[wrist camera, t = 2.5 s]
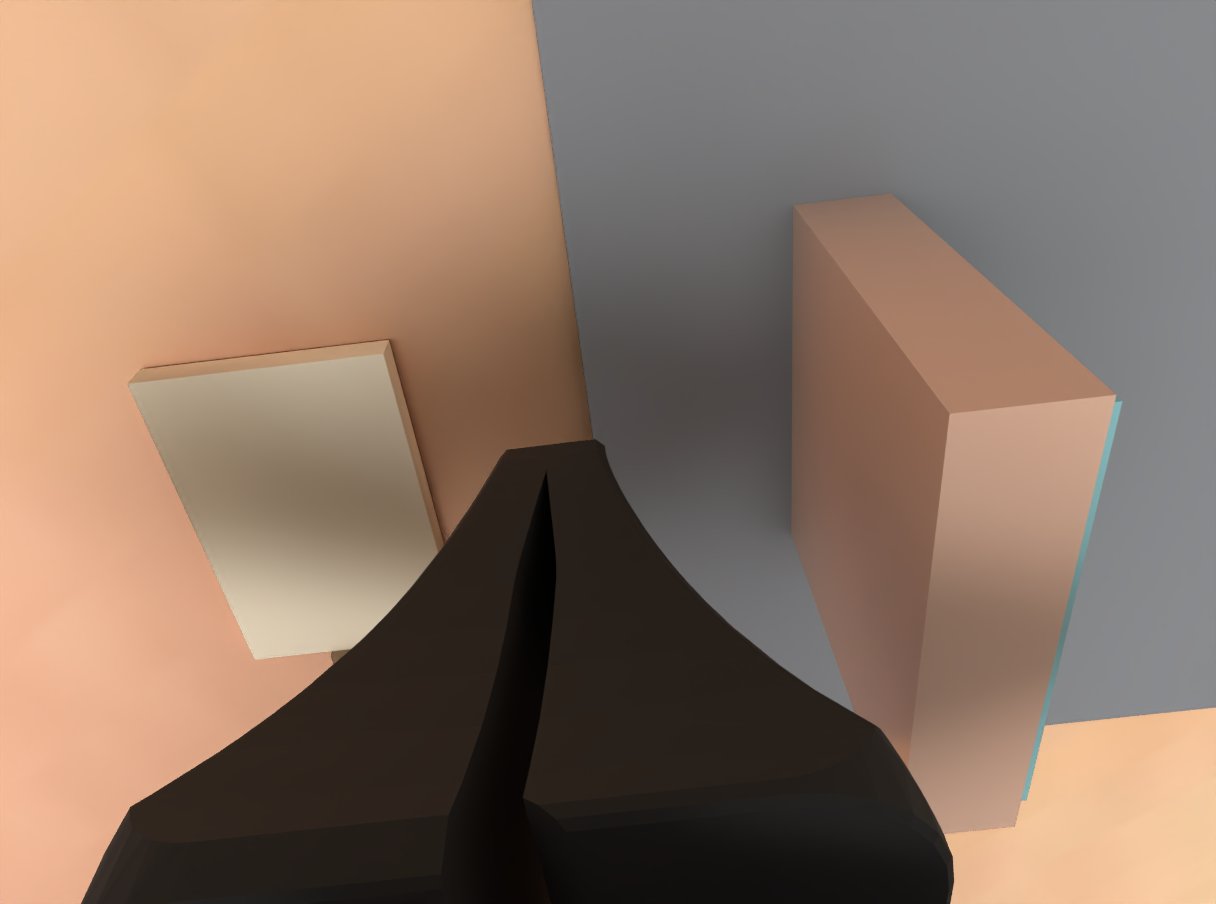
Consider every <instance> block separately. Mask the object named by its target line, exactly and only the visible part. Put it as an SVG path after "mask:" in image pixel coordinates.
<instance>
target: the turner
mask: <svg viewBox="0 0 1216 904" xmlns="http://www.w3.org/2000/svg"><path fill="white" fill-rule="evenodd" d="M128 386H129V389H130V391H131V393H132V395H133V397H134V399H135V402H136V404H137V406H138V408H139V410H140V412H141V415H142V417H143V419H144V421H145V423H146V425H147V428H148V430H149V432H150V434H151V436H152V438H153V441H154V443H155V445H156V447H157V449H158V451H159V454H160V456H161V458H162V460H163V462H164V464H165V467H166V469H167V471H168V473H169V475H170V477H171V480H172V482H173V484H174V486H175V488H176V490H177V493H178V495H179V497H180V499H181V501H182V503H183V506H184V508H185V510H186V512H187V514H188V516H189V519H190V521H191V523H192V525H193V527H194V529H195V532H196V534H197V536H198V538H199V540H200V542H201V545H202V547H203V549H204V551H205V553H206V555H207V558H208V560H209V562H210V564H211V566H212V568H213V571H214V573H215V575H216V577H217V579H218V581H219V584H220V586H221V588H222V590H223V592H224V594H225V597H226V599H227V601H228V603H229V605H230V607H231V610H232V612H233V614H234V616H235V618H236V620H237V623H238V625H239V627H240V629H241V631H242V633H243V636H244V638H245V640H246V642H247V644H248V646H249V649H250V651H251V653H252V655H253V657H254V660H257V659H266V658H275V657H284V656H293V655H303V654H312V653H321V652H330V651H332V653H331V658H332V661H333V663H334V664H335V663H336V662H337V661H338V660H339V659H340V658H341V657H343V656H344V655H345V654H346V653H347V652H348V651H349V650H350V649H352V648H353V647H354V646H355V645H356V644H357V643H358V642H360V641H361V640H362V639H363V638H364V637H365V636H366V635H367V634H368V633H369V632H370V631H371V630H372V629H373V628H374V627H375V626H376V625H377V624H378V623H379V622H380V621H381V620H382V619H383V618H384V617H385V616H386V615H387V614H388V613H389V611H390V610H391V609H392V608H393V607H394V606H395V605H396V604H397V603H398V601H399V600H400V599H401V598H402V597H403V596H404V595H405V593H406V592H407V591H408V590H409V589H410V588H411V586H412V585H413V584H414V583H415V581H416V580H417V579H418V578H419V576H420V575H421V574H422V573H423V571H424V570H425V569H426V567H427V566H428V565H429V564H430V562H431V561H432V560H433V559H434V557H435V556H436V555H437V553H438V552H439V551H440V550H441V548H442V547H443V546H444V542H443V539H442V535H441V531H440V528H439V524H438V520H437V516H436V513H435V509H434V505H433V502H432V498H431V494H430V491H429V487H428V483H427V479H426V476H425V472H424V468H423V465H422V461H421V457H420V453H419V450H418V446H417V442H416V439H415V435H414V431H413V427H412V424H411V420H410V416H409V413H408V409H407V405H406V401H405V398H404V394H403V390H402V387H401V383H400V379H399V375H398V372H397V368H396V364H395V361H394V357H393V353H392V349H391V346H390V342H389V340H383V341H375V342H366V343H358V344H350V345H341V346H333V347H324V348H316V349H307V350H299V351H290V352H282V353H273V354H265V355H257V356H248V357H240V358H231V359H223V360H214V361H206V362H197V363H189V364H180V365H172V366H164V367H155V368H147V369H140V371H139V372H138V373H137V374H136V375H135V376H134V377H133V378H132V379H131V380H130V382H129V383H128Z"/></svg>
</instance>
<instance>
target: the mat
mask: <svg viewBox="0 0 1216 904" xmlns="http://www.w3.org/2000/svg"><path fill="white" fill-rule="evenodd" d="M532 5H533V12H534V19H535V27H536V34H537V41H538V48H539V55H540V62H541V69H542V77H543V84H544V91H545V98H546V105H547V112H548V120H549V127H550V134H551V141H552V148H553V155H554V163H555V170H556V177H557V184H558V191H559V198H560V205H561V213H562V220H563V227H564V234H565V241H566V248H567V256H568V263H569V270H570V277H571V284H572V291H573V299H574V306H575V313H576V320H577V327H578V334H579V341H580V349H581V356H582V363H583V370H584V377H585V384H586V392H587V399H588V406H589V413H590V420H591V427H592V435H593V440H594V439H596V440H598V441H599V442H600V443H602V444H603V445H604V446H605V450H606V456H607V459H608V462H609V465H610V467H611V470H612V472H613V474H614V476H615V478H616V480H617V482H618V484H619V486H620V488H621V490H622V492H623V494H624V496H625V497H626V499H627V501H628V503H629V504H630V506H631V507H632V509H633V510H634V512H635V514H636V515H637V517H638V518H639V520H640V521H641V523H642V525H643V526H644V528H645V529H646V530H647V532H648V533H649V535H650V536H651V537H652V539H653V540H654V542H655V543H656V544H657V545H658V547H659V548H660V549H661V551H662V552H663V553H664V554H665V556H666V557H667V558H668V560H669V561H670V562H671V563H672V564H673V566H674V567H675V568H676V569H677V570H678V572H679V573H680V574H681V575H682V576H683V577H684V578H685V580H686V581H687V582H688V583H689V584H690V585H691V586H692V587H693V588H694V589H695V590H696V591H697V592H698V594H699V595H700V596H701V597H702V598H703V599H704V600H705V601H706V602H707V603H708V604H709V605H710V606H711V607H712V608H713V609H714V610H716V611H717V612H718V613H719V614H720V615H721V616H722V617H723V618H724V619H725V620H726V621H727V622H728V623H729V624H730V625H731V626H732V627H734V628H735V629H736V630H737V631H739V632H740V633H741V634H742V635H744V636H745V637H746V638H747V639H748V640H750V641H751V642H752V643H753V644H755V645H756V646H757V647H758V648H759V649H761V650H762V651H763V652H764V653H766V654H767V655H768V656H769V657H770V658H772V659H773V660H774V661H775V662H777V663H778V664H779V665H780V666H782V667H783V668H785V669H786V670H787V671H789V672H790V673H792V674H793V675H795V676H796V677H797V678H799V679H800V680H802V681H803V682H805V683H806V684H807V685H809V686H810V687H812V688H813V689H814V690H816V691H818V692H819V693H821V694H823V695H825V696H826V697H828V698H830V699H831V700H833V701H835V702H837V703H838V704H840V705H842V706H843V707H845V708H847V709H849V710H850V711H852V712H854V710H853V707H852V704H851V701H850V698H849V696H848V693H847V690H846V687H845V684H844V682H843V679H842V676H841V673H840V670H839V667H838V665H837V662H836V659H835V656H834V653H833V651H832V648H831V645H830V642H829V639H828V637H827V634H826V631H825V628H824V625H823V623H822V620H821V617H820V614H819V611H818V608H817V606H816V603H815V600H814V597H813V594H812V592H811V589H810V586H809V583H808V580H807V578H806V575H805V572H804V569H803V566H802V564H801V561H800V558H799V555H798V552H797V549H796V547H795V544H794V541H793V538H792V535H791V507H792V326H793V205H799V204H808V203H816V202H824V201H832V200H841V199H849V198H857V197H866V196H874V195H882V194H890V193H891V194H892V195H893V196H895V197H896V198H897V199H898V200H899V201H900V202H901V203H902V204H904V205H905V206H906V207H907V208H908V209H909V210H910V211H911V212H912V213H914V214H915V215H916V216H917V217H918V218H919V219H920V220H921V221H923V222H924V223H925V224H926V225H927V226H928V227H929V228H930V229H932V230H933V231H934V232H935V233H936V234H937V235H938V236H939V237H940V238H942V239H943V240H944V241H945V242H946V243H947V244H948V245H949V246H951V247H952V248H953V249H954V250H955V251H956V252H957V253H958V254H959V255H961V256H962V257H963V258H964V259H965V260H966V261H967V262H968V263H970V264H971V265H972V266H973V267H974V268H975V269H976V270H977V271H978V272H980V273H981V274H982V275H983V276H984V277H985V278H986V279H987V280H989V281H990V282H991V283H992V284H993V285H994V286H995V287H996V288H997V289H999V290H1000V291H1001V292H1002V293H1003V294H1004V295H1005V296H1006V297H1008V298H1009V299H1010V300H1011V301H1012V302H1013V303H1014V304H1015V305H1016V306H1018V307H1019V308H1020V309H1021V310H1022V311H1023V312H1024V313H1025V314H1027V315H1028V316H1029V317H1030V318H1031V319H1032V320H1033V321H1034V322H1036V323H1037V324H1038V325H1039V326H1040V327H1041V328H1042V329H1043V330H1044V331H1046V332H1047V333H1048V334H1049V335H1050V336H1051V337H1052V338H1053V339H1055V340H1056V341H1057V342H1058V343H1059V344H1060V345H1061V346H1062V347H1063V348H1065V349H1066V350H1067V351H1068V352H1069V353H1070V354H1071V355H1072V356H1074V357H1075V358H1076V359H1077V360H1078V361H1079V362H1080V363H1081V364H1082V365H1084V366H1085V367H1086V368H1087V369H1088V370H1089V371H1090V372H1091V373H1093V374H1094V375H1095V376H1096V377H1097V378H1098V379H1099V380H1100V381H1101V382H1103V383H1104V384H1105V385H1106V386H1107V387H1108V388H1109V389H1110V390H1112V391H1113V392H1114V393H1115V394H1116V396H1117V397H1118V398H1119V399H1121V400H1122V405H1121V409H1120V414H1119V418H1118V422H1117V426H1116V430H1115V434H1114V439H1113V443H1112V447H1111V451H1110V455H1109V459H1108V464H1107V468H1106V472H1105V476H1104V480H1103V484H1102V488H1101V493H1100V497H1099V501H1098V505H1097V509H1096V513H1095V518H1094V522H1093V526H1092V530H1091V534H1090V538H1089V543H1088V547H1087V551H1086V555H1085V559H1084V563H1083V567H1082V572H1081V576H1080V580H1079V584H1078V588H1077V592H1076V597H1075V601H1074V605H1073V609H1072V613H1071V617H1070V622H1069V626H1068V630H1067V634H1066V638H1065V642H1064V646H1063V651H1062V655H1061V659H1060V663H1059V667H1058V671H1057V676H1056V680H1055V684H1054V688H1053V692H1052V696H1051V701H1050V705H1049V709H1048V713H1047V717H1046V721H1045V725H1053V724H1063V723H1072V722H1082V721H1091V720H1101V719H1110V718H1120V717H1129V716H1139V715H1148V714H1158V713H1167V712H1177V711H1186V710H1196V709H1205V708H1215V707H1216V0H532ZM854 713H855V712H854Z"/></svg>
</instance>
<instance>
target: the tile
mask: <svg viewBox="0 0 1216 904" xmlns="http://www.w3.org/2000/svg"><path fill="white" fill-rule="evenodd" d="M1121 405H1122V400H1121V399H1119V398H1118V397H1117V396H1116V394H1115V393H1114V392H1113V391H1112V390H1110V389H1109V388H1108V387H1107V386H1106V385H1105V384H1104V383H1103V382H1101V381H1100V380H1099V379H1098V378H1097V377H1096V376H1095V375H1094V374H1093V373H1091V372H1090V371H1089V370H1088V369H1087V368H1086V367H1085V366H1084V365H1082V364H1081V363H1080V362H1079V361H1078V360H1077V359H1076V358H1075V357H1074V356H1072V355H1071V354H1070V353H1069V352H1068V351H1067V350H1066V349H1065V348H1063V347H1062V346H1061V345H1060V344H1059V343H1058V342H1057V341H1056V340H1055V339H1053V338H1052V337H1051V336H1050V335H1049V334H1048V333H1047V332H1046V331H1044V330H1043V329H1042V328H1041V327H1040V326H1039V325H1038V324H1037V323H1036V322H1034V321H1033V320H1032V319H1031V318H1030V317H1029V316H1028V315H1027V314H1025V313H1024V312H1023V311H1022V310H1021V309H1020V308H1019V307H1018V306H1016V305H1015V304H1014V303H1013V302H1012V301H1011V300H1010V299H1009V298H1008V297H1006V296H1005V295H1004V294H1003V293H1002V292H1001V291H1000V290H999V289H997V288H996V287H995V286H994V285H993V284H992V283H991V282H990V281H989V280H987V279H986V278H985V277H984V276H983V275H982V274H981V273H980V272H978V271H977V270H976V269H975V268H974V267H973V266H972V265H971V264H970V263H968V262H967V261H966V260H965V259H964V258H963V257H962V256H961V255H959V254H958V253H957V252H956V251H955V250H954V249H953V248H952V247H951V246H949V245H948V244H947V243H946V242H945V241H944V240H943V239H942V238H940V237H939V236H938V235H937V234H936V233H935V232H934V231H933V230H932V229H930V228H929V227H928V226H927V225H926V224H925V223H924V222H923V221H921V220H920V219H919V218H918V217H917V216H916V215H915V214H914V213H912V212H911V211H910V210H909V209H908V208H907V207H906V206H905V205H904V204H902V203H901V202H900V201H899V200H898V199H897V198H896V197H895V196H893V195H892V194H891V193H890V194H882V195H874V196H866V197H857V198H849V199H841V200H832V201H824V202H816V203H808V204H799V205H793V326H792V507H791V535H792V538H793V541H794V544H795V547H796V549H797V552H798V555H799V558H800V561H801V564H802V566H803V569H804V572H805V575H806V578H807V580H808V583H809V586H810V589H811V592H812V594H813V597H814V600H815V603H816V606H817V608H818V611H819V614H820V617H821V620H822V623H823V625H824V628H825V631H826V634H827V637H828V639H829V642H830V645H831V648H832V651H833V653H834V656H835V659H836V662H837V665H838V667H839V670H840V673H841V676H842V679H843V682H844V684H845V687H846V690H847V693H848V696H849V698H850V701H851V704H852V707H853V710H854V712H855V714H857V715H859V716H861V717H862V718H864V719H866V720H867V721H869V722H871V723H873V724H874V725H876V726H877V727H879V728H880V729H881V730H882V731H883V732H884V734H885V735H886V737H887V738H888V740H889V741H890V742H891V744H892V745H893V747H894V748H895V750H896V751H897V753H898V754H899V756H900V757H901V759H902V760H903V762H904V763H905V765H906V766H907V768H908V770H909V771H910V773H911V775H912V776H913V778H914V780H915V781H916V783H917V784H918V786H919V788H920V789H921V791H922V793H923V795H924V797H925V798H926V800H927V802H928V804H929V806H930V808H931V809H932V811H933V813H934V815H935V817H936V819H937V821H938V823H939V825H940V827H941V829H942V831H943V833H944V834H947V833H957V832H967V831H976V830H986V829H996V828H1006V827H1015V824H1016V820H1017V815H1018V811H1019V807H1020V803H1021V801H1023V800H1027V796H1028V792H1029V788H1030V784H1031V780H1032V775H1033V771H1034V767H1035V763H1036V759H1037V755H1038V750H1039V746H1040V742H1041V738H1042V734H1043V730H1044V726H1045V721H1046V717H1047V713H1048V709H1049V705H1050V701H1051V696H1052V692H1053V688H1054V684H1055V680H1056V676H1057V671H1058V667H1059V663H1060V659H1061V655H1062V651H1063V646H1064V642H1065V638H1066V634H1067V630H1068V626H1069V622H1070V617H1071V613H1072V609H1073V605H1074V601H1075V597H1076V592H1077V588H1078V584H1079V580H1080V576H1081V572H1082V567H1083V563H1084V559H1085V555H1086V551H1087V547H1088V543H1089V538H1090V534H1091V530H1092V526H1093V522H1094V518H1095V513H1096V509H1097V505H1098V501H1099V497H1100V493H1101V488H1102V484H1103V480H1104V476H1105V472H1106V468H1107V464H1108V459H1109V455H1110V451H1111V447H1112V443H1113V439H1114V434H1115V430H1116V426H1117V422H1118V418H1119V414H1120V409H1121Z"/></svg>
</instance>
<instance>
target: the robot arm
mask: <svg viewBox="0 0 1216 904" xmlns="http://www.w3.org/2000/svg"><path fill="white" fill-rule="evenodd" d="M953 884H954V872H953V856H952V854H951V852H950V849H949V847H948V844H947V842H946V839H945V836H944V833H943V831H942V829H941V827H940V825H939V823H938V821H937V819H936V817H935V815H934V813H933V811H932V809H931V808H930V806H929V804H928V802H927V800H926V798H925V797H924V795H923V793H922V791H921V789H920V788H919V786H918V784H917V783H916V781H915V780H914V778H913V776H912V775H911V773H910V771H909V770H908V768H907V766H906V765H905V763H904V762H903V760H902V759H901V757H900V756H899V754H898V753H897V751H896V750H895V748H894V747H893V745H892V744H891V742H890V741H889V740H888V738H887V737H886V735H885V734H884V732H883V731H882V730H881V729H880V728H879V727H877V726H876V725H874V724H873V723H871V722H869V721H867V720H866V719H864V718H862V717H861V716H859V715H857V714H855V713H854V712H852V711H850V710H849V709H847V708H845V707H843V706H842V705H840V704H838V703H837V702H835V701H833V700H831V699H830V698H828V697H826V696H825V695H823V694H821V693H819V692H818V691H816V690H814V689H813V688H812V687H810V686H809V685H807V684H806V683H805V682H803V681H802V680H800V679H799V678H797V677H796V676H795V675H793V674H792V673H790V672H789V671H787V670H786V669H785V668H783V667H782V666H780V665H779V664H778V663H777V662H775V661H774V660H773V659H772V658H770V657H769V656H768V655H767V654H766V653H764V652H763V651H762V650H761V649H759V648H758V647H757V646H756V645H755V644H753V643H752V642H751V641H750V640H748V639H747V638H746V637H745V636H744V635H742V634H741V633H740V632H739V631H737V630H736V629H735V628H734V627H732V626H731V625H730V624H729V623H728V622H727V621H726V620H725V619H724V618H723V617H722V616H721V615H720V614H719V613H718V612H717V611H716V610H714V609H713V608H712V607H711V606H710V605H709V604H708V603H707V602H706V601H705V600H704V599H703V598H702V597H701V596H700V595H699V594H698V592H697V591H696V590H695V589H694V588H693V587H692V586H691V585H690V584H689V583H688V582H687V581H686V580H685V578H684V577H683V576H682V575H681V574H680V573H679V572H678V570H677V569H676V568H675V567H674V566H673V564H672V563H671V562H670V561H669V560H668V558H667V557H666V556H665V554H664V553H663V552H662V551H661V549H660V548H659V547H658V545H657V544H656V543H655V542H654V540H653V539H652V537H651V536H650V535H649V533H648V532H647V530H646V529H645V528H644V526H643V525H642V523H641V521H640V520H639V518H638V517H637V515H636V514H635V512H634V510H633V509H632V507H631V506H630V504H629V503H628V501H627V499H626V497H625V496H624V494H623V492H622V490H621V488H620V486H619V484H618V482H617V480H616V478H615V476H614V474H613V472H612V470H611V467H610V465H609V462H608V459H607V456H606V450H605V446H604V445H603V444H602V443H600V442H599V441H598V440H596V439H594V440H586V441H577V442H569V443H560V444H552V445H543V446H535V447H527V448H518V449H510V450H506V451H505V453H504V454H503V455H502V456H501V457H500V459H499V461H498V462H497V464H496V466H495V467H494V469H493V471H492V473H491V474H490V476H489V478H488V479H487V481H486V483H485V484H484V486H483V488H482V489H481V491H480V492H479V494H478V495H477V497H476V499H475V500H474V502H473V503H472V505H471V507H470V508H469V510H468V511H467V512H466V514H465V515H464V517H463V518H462V520H461V521H460V523H459V524H458V526H457V527H456V528H455V530H454V531H453V533H452V534H451V536H450V537H449V539H448V540H447V541H446V543H445V544H444V546H443V547H442V548H441V550H440V551H439V552H438V553H437V555H436V556H435V557H434V559H433V560H432V561H431V562H430V564H429V565H428V566H427V567H426V569H425V570H424V571H423V573H422V574H421V575H420V576H419V578H418V579H417V580H416V581H415V583H414V584H413V585H412V586H411V588H410V589H409V590H408V591H407V592H406V593H405V595H404V596H403V597H402V598H401V599H400V600H399V601H398V603H397V604H396V605H395V606H394V607H393V608H392V609H391V610H390V611H389V613H388V614H387V615H386V616H385V617H384V618H383V619H382V620H381V621H380V622H379V623H378V624H377V625H376V626H375V627H374V628H373V629H372V630H371V631H370V632H369V633H368V634H367V635H366V636H365V637H364V638H363V639H362V640H361V641H360V642H358V643H357V644H356V645H355V646H354V647H353V648H352V649H350V650H349V651H348V652H347V653H346V654H345V655H344V656H343V657H341V658H340V659H339V660H338V661H337V662H336V663H335V664H333V665H332V666H331V667H330V668H329V669H328V670H327V671H325V672H324V673H323V674H322V675H321V676H320V677H319V678H317V679H316V680H315V681H314V682H313V683H312V684H311V685H309V686H308V687H307V688H306V689H304V690H303V691H302V692H301V693H299V694H298V695H297V696H296V697H294V698H293V699H292V700H290V701H289V702H288V703H287V704H285V705H284V706H283V707H281V708H280V709H279V710H277V711H276V712H275V713H274V714H272V715H271V716H269V717H268V718H267V719H265V720H264V721H263V722H261V723H260V724H258V725H257V726H256V727H254V728H253V729H251V730H250V731H249V732H247V733H246V734H245V735H243V736H242V737H240V738H239V739H237V740H236V741H235V742H233V743H232V744H230V745H229V746H227V747H226V748H224V749H223V750H221V751H220V752H218V753H217V754H215V755H214V756H212V757H210V758H209V759H207V760H206V761H204V762H203V763H201V764H199V765H198V766H196V767H195V768H193V769H191V770H190V771H188V772H187V773H185V774H183V775H182V776H180V777H179V778H177V779H175V780H174V781H172V782H171V783H169V784H168V785H166V786H164V787H163V788H161V789H160V790H158V791H156V792H155V793H153V794H152V795H150V796H148V797H147V798H145V799H143V800H141V801H140V802H138V803H136V804H135V805H133V806H131V807H130V809H129V810H128V812H127V814H126V816H125V818H124V819H123V821H122V823H121V825H120V826H119V828H118V830H117V832H116V834H115V835H114V837H113V839H112V841H111V843H110V844H109V846H108V848H107V850H106V852H105V854H104V856H103V858H102V860H101V862H100V864H99V867H98V869H97V871H96V873H95V875H94V877H93V879H92V882H91V884H90V886H89V888H88V890H87V892H86V894H85V897H84V899H83V901H82V903H81V904H950V901H951V896H952V890H953Z"/></svg>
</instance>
